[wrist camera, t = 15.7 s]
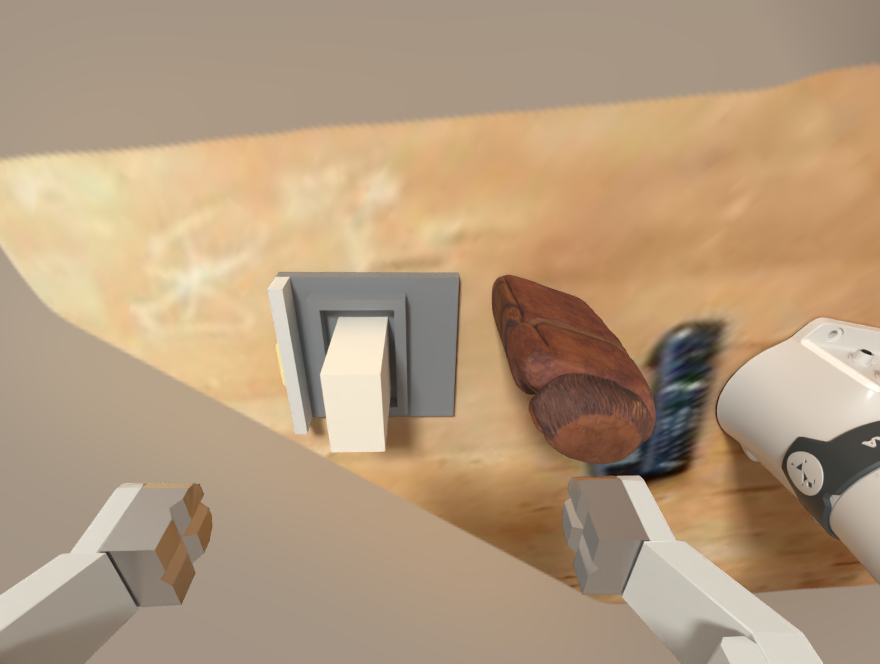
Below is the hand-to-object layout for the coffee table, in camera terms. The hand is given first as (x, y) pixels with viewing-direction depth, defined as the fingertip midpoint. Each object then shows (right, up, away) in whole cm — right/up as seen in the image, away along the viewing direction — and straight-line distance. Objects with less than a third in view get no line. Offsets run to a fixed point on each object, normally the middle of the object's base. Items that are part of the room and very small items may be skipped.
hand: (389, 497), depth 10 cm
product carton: (-6, +2, +34) cm, 34 cm away
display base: (-5, +2, +35) cm, 35 cm away
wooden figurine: (+11, +6, +34) cm, 36 cm away
